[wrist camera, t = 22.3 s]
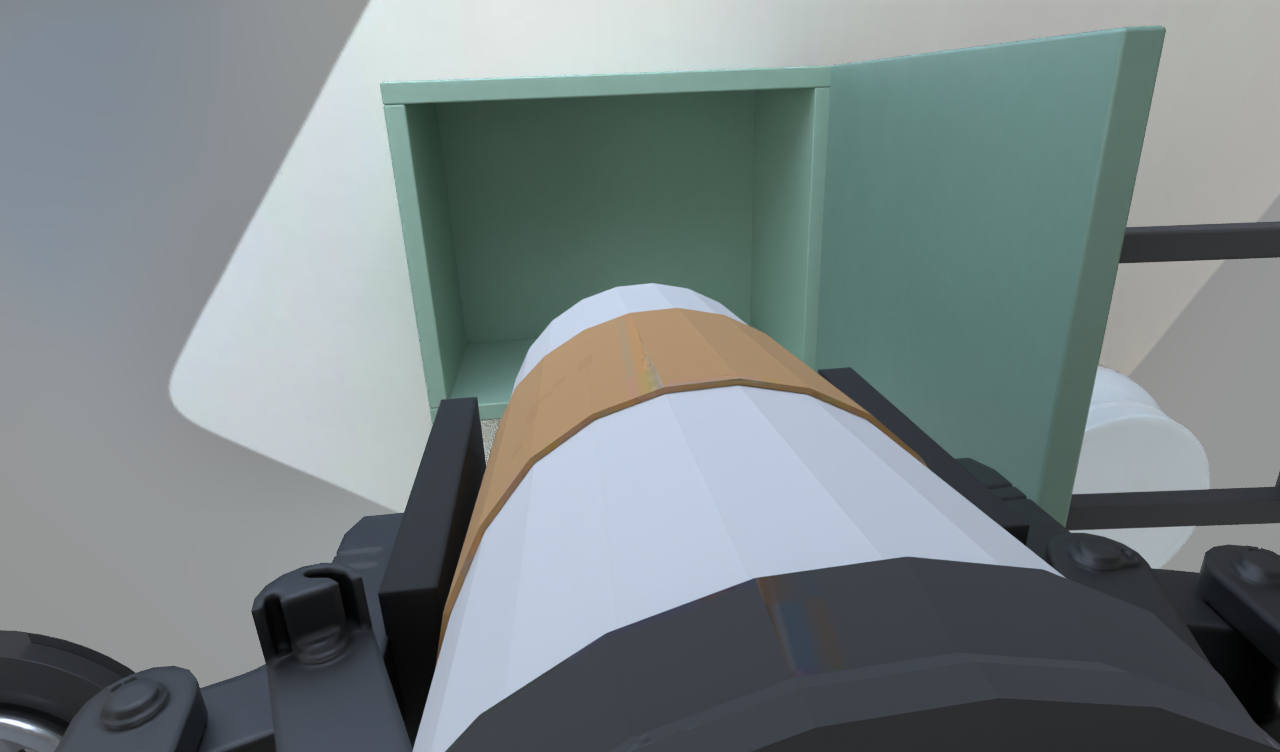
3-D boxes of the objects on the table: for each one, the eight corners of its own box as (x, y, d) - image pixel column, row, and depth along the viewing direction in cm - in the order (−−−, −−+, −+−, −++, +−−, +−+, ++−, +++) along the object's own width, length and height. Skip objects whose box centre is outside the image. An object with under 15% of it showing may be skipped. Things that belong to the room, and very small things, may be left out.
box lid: (998, 710, 19) (1377, 697, 19) (1124, 26, 13) (1670, 5, 13) (813, 396, 38) (998, 389, 38) (830, 65, 32) (1049, 56, 32)
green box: (455, 353, 46) (431, 425, 36) (419, 85, 41) (379, 82, 31) (760, 330, 49) (817, 392, 38) (766, 72, 43) (835, 65, 33)
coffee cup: (781, 540, 20) (1292, 1489, 7) (475, 547, 19) (304, 1714, 5) (824, 241, 18) (1919, 803, 4) (466, 228, 16) (49, 981, 2)
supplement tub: (968, 481, 55) (1139, 635, 39) (827, 437, 52) (951, 585, 36) (1053, 334, 51) (1278, 439, 36) (906, 278, 48) (1081, 365, 33)
